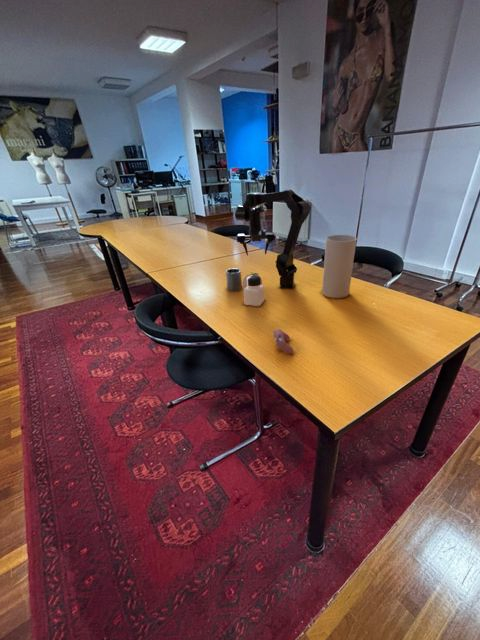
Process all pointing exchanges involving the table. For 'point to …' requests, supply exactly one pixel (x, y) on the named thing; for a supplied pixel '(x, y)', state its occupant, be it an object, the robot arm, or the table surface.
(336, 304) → the table surface
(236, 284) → the glazed cup
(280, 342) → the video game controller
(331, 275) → the cylinder vase
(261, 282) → the decorative fruit
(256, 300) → the medicine bottle
